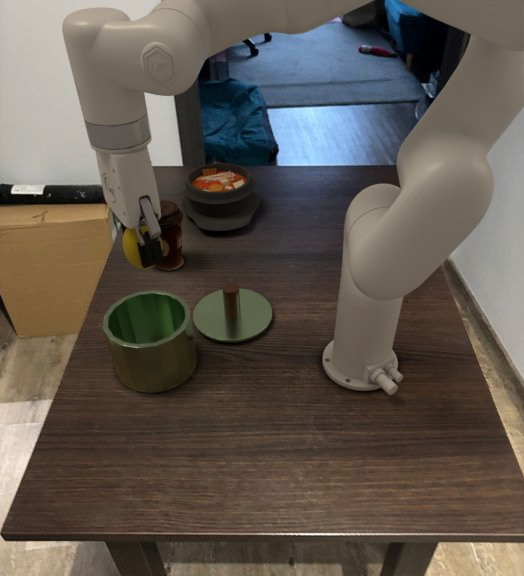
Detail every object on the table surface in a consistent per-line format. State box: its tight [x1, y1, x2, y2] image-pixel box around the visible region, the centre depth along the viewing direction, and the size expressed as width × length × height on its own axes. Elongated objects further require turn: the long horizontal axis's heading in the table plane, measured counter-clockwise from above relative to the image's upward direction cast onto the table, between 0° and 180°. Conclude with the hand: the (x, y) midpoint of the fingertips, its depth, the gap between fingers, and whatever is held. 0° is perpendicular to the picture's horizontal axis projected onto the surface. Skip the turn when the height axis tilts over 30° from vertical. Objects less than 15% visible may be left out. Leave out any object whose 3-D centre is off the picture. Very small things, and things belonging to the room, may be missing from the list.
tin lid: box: [192, 281, 273, 343], centre depth 96 cm, size 15×15×7 cm
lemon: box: [122, 225, 162, 270], centre depth 76 cm, size 6×6×8 cm
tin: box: [102, 289, 198, 394], centre depth 87 cm, size 14×14×10 cm
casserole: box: [181, 162, 260, 232], centre depth 124 cm, size 25×19×8 cm
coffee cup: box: [142, 199, 184, 271], centre depth 107 cm, size 9×8×13 cm
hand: (144, 252), depth 77 cm, fingers closed on lemon, 5 cm apart
